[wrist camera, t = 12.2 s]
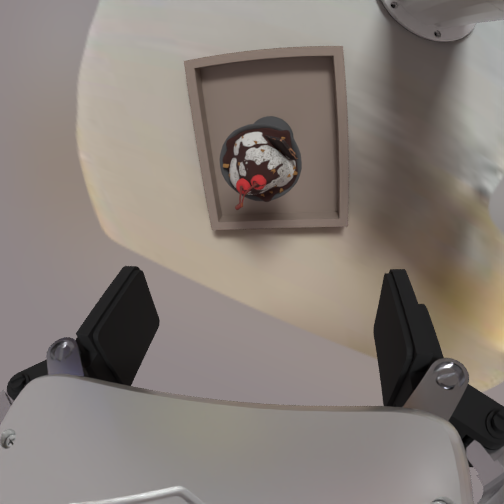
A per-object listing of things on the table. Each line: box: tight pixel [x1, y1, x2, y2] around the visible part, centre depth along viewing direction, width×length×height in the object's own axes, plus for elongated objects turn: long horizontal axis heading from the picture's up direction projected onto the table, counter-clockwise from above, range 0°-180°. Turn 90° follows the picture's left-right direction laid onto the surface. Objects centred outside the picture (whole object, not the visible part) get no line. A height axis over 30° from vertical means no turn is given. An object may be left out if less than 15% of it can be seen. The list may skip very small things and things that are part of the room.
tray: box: [184, 46, 349, 230], centre depth 33 cm, size 20×16×2 cm
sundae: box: [219, 116, 302, 210], centre depth 27 cm, size 7×7×15 cm
